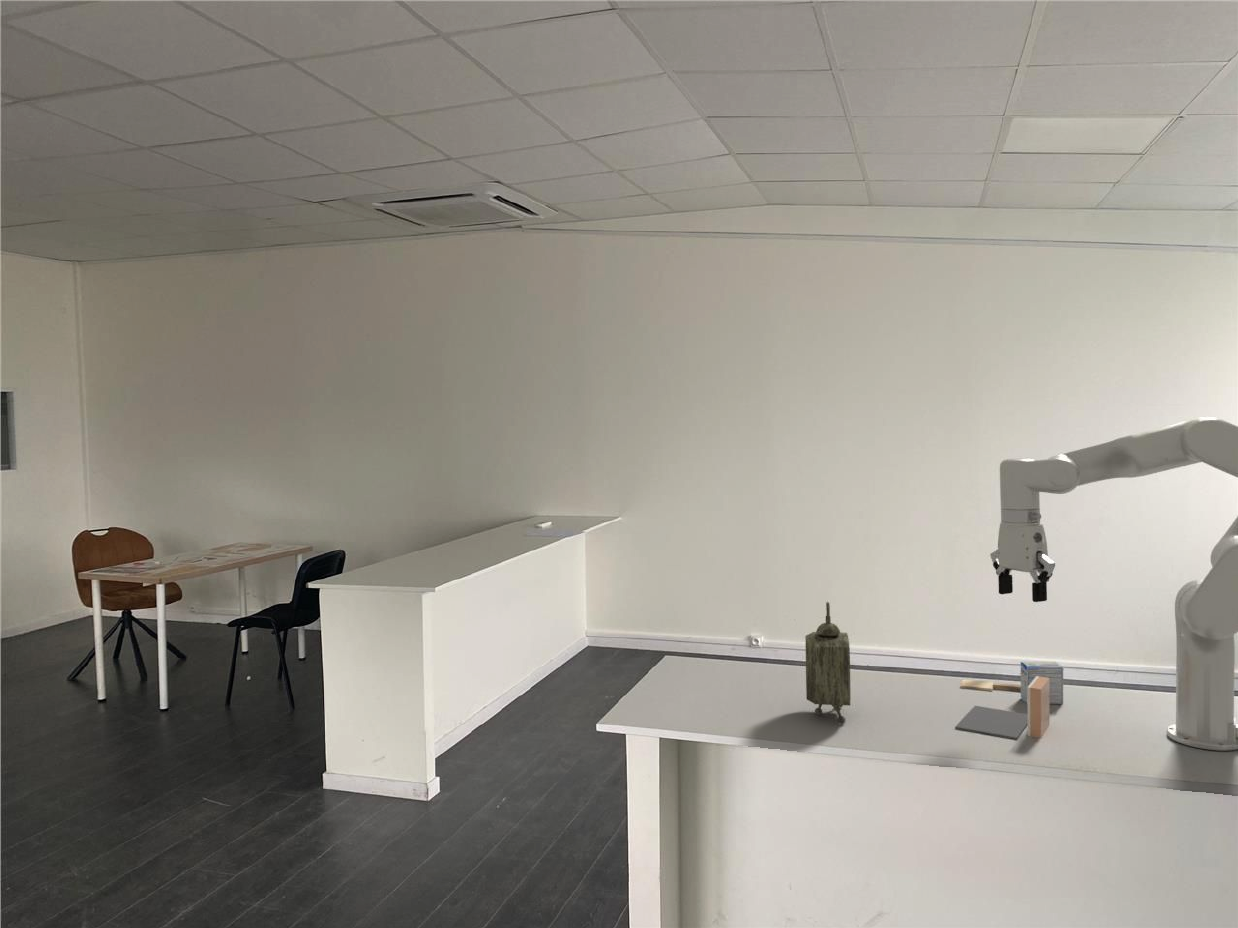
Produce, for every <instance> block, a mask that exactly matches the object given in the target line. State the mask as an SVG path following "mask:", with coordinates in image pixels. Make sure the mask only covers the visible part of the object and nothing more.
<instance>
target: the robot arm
mask: <svg viewBox="0 0 1238 928" xmlns="http://www.w3.org/2000/svg"><path fill="white" fill-rule="evenodd" d="M1198 463H1204V464H1206V465H1208V466H1210V467H1213V468H1215V469H1217V470H1219V471H1221V472H1224V473H1226V474H1229V475H1230V476H1233V477H1235V478H1238V426H1237V425H1235V424H1233V423H1231V422H1229V421H1226V420H1224V419H1220V418H1218V417H1212V416H1211V417H1209V416H1208V417H1207V416H1205V417H1196V418H1191V419H1188V420H1184V421H1179V422H1175V423H1172V424H1168V425H1166V426H1165V425H1164V426H1159V427H1157V428H1154V429H1153V428H1152V429H1149V430H1145V431H1142V432H1138V433H1133V434H1129V435H1127V436H1126V435H1125V436H1122V437H1119V438H1116V439H1113V440H1110V441H1108V442H1104V443H1100V444H1095V445H1092V446H1089V447H1083V448H1081V449H1080V448H1079V449H1077V450H1072V451H1068V452H1066V453H1061V454H1057V455H1053V456H1050V457H1049V458H1047V459H1039V460H1036V459H1034V458H1033V459H1032V458H1008V459H1004V460H1002V461H1001V462H1000V465H999V489H1000V490H999V493H1000V494H999V495H1000V496H999V497H1000V523H999V528H998V538H997V549H996V550H994V551H993V552H991V553H990V555H989V556H990V559H991V561H992V566H993V568H994V570H995V574H996V575H997V577H998V578H997V579H998V594H1000V595H1008V594H1012V593H1013V591H1014V590H1013V585H1014V584H1013V574H1011V572H1012V571H1016V572H1022V573H1029V574H1030V577H1031V578H1032V580H1033V581H1034V582H1032V584H1031V590H1032V593H1031V595H1032V597H1031V598H1032V601H1033V602H1034V603H1040V602H1047V601H1048V590H1047V586H1048V585H1047V583H1049V582H1050V578H1051V577H1052V576H1053V574H1054V570H1055V567H1056V563H1055V562H1054V561H1053V560H1052V559H1050V558H1049V553H1048V552H1049V551H1048V545H1047V544H1048V542H1047V537H1046V532H1045V527H1044V525H1043V524H1042V523H1041V519H1042V514H1041V511H1040V510H1041V508H1040V507H1041V505H1040V504H1041V503H1040V493H1046V494H1056V495H1062V494H1068V493H1070V492H1072V491H1074V490H1075V489H1076V488H1077V487H1079V486H1084V485H1088V484H1091V483H1095V482H1096V483H1097V482H1101V481H1105V480H1111V479H1122V478H1123V479H1124V478H1125V479H1126V478H1127V479H1130V478H1137V477H1138V478H1139V477H1144V476H1150V475H1153V474H1157V473H1161V472H1165V471H1169V470H1173V469H1174V470H1175V469H1177V468H1182V467H1186V466H1190V465H1194V464H1198ZM1229 526H1230V527H1229V528H1228V529H1227V530H1226V531H1225V533H1224V534H1223V536H1222V537H1221V538H1220V539H1219V541H1218V542H1217V543H1216V544H1215V545H1214V547H1213V548H1212V550H1211V554H1210V563H1211V566H1212V568H1211V569H1210V570H1209V571H1208V573H1207V575H1206V576H1205V577H1204V579H1195V580H1191V581H1189V582H1187V583H1185V584H1184V585H1182V587H1180V589H1179V590H1178V592H1177V594H1176V596H1175V601H1174V618H1175V633H1176V635H1175V636H1176V659H1175V661H1176V665H1175V666H1176V667H1175V668H1176V672H1175V674H1176V675H1175V679H1176V680H1175V682H1176V683H1175V685H1176V686H1175V696H1176V697H1175V723H1174V724H1173V723H1172V724H1170V725H1169V726H1167V727H1166V735H1167V736H1168V738H1170V739H1171V740H1173V741H1175V742H1177V743H1179V744H1182V745H1184V746H1189V747H1191V748H1197V749H1203V750H1210V751H1220V752H1221V751H1222V752H1223V751H1225V752H1226V751H1228V752H1229V751H1235V750H1236V751H1237V750H1238V723H1237V717H1235V665H1236V664H1235V659H1236V655H1235V653H1236V652H1235V650H1236V649H1235V648H1236V647H1235V635H1236V634H1237V633H1238V515H1237V517H1236V518H1235V519H1234V521H1233V522H1232V523H1231V524H1230V525H1229Z"/></svg>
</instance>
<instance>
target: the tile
mask: <svg viewBox="0 0 1238 928" xmlns="http://www.w3.org/2000/svg"><path fill="white" fill-rule="evenodd" d="M1027 703H1028V704H1027ZM1027 703H1026V704H1027V714H1028V725H1027V736H1028V737H1033V738H1036V739H1037V738H1038V739H1042V737H1043V736H1044V734H1045V733H1046V731H1047V730H1048V728H1049V727H1050V704H1049V678H1046V677H1039V676H1036V677H1035V679H1034V680H1033V681H1032V682H1031V683H1030V685H1029V686H1028V687H1027Z"/></svg>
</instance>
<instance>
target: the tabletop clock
mask: <svg viewBox="0 0 1238 928" xmlns="http://www.w3.org/2000/svg"><path fill="white" fill-rule="evenodd" d="M825 605H826V606H825V609H826V610H825V611H826V613H825V615H826V616H825V622H823V623H821V624H820V625H818V626H817V629H816V631H812V632H810V633H808V634H806V635H804V636H805V637H804V638H805V640H804V641H805V691H806V692H805V693H806V701H808V702H811V703H812V704H814V705H818V707H816V708H815V709H814V712H815V715H817V716H821V715H822V714H823V710H822V706H824V705H825V706H826V705H827V706H828V705H829V706H832V707H833V709H834V710H835V712H836V713H837V716H838V717H837V722H838V723H839V724H840V725H843V724H845V723H846V717H844V716H843V715H842V713H841V711H840V709H841V708H842V707H843V706H851V653H850V652H851V650H850V649H851V648H850V640H849V634H848V632H841V630H840V628H839V627H838V625H837V624H835V623H832V622H831V616H830V614H831V612H830V611H831V610H830V608H831V606H830V602H828V601H827V602H825Z"/></svg>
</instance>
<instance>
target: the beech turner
mask: <svg viewBox="0 0 1238 928" xmlns="http://www.w3.org/2000/svg"><path fill="white" fill-rule="evenodd" d="M960 688H961V689H967V690H976V691H977V690H978V691H986V692H987V691H989V692H994V690H1002V691H1012V692H1013V691H1014V692H1021V684H1011V683H1010V684H1009V683H999V682H994V681H986V680H985V681H984V680H975V681H974V680H972V679H962V680H961V683H960Z"/></svg>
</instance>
